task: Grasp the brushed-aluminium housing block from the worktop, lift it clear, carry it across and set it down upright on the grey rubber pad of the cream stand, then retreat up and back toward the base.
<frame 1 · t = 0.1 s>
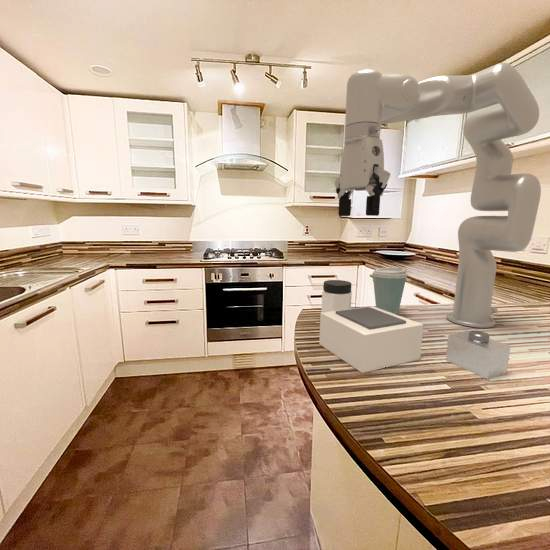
hand: (357, 215, 71), 31 cm above the countertop, fingers open, 9 cm apart
housing: (474, 366, 66), on the countertop
stand: (366, 351, 73), on the countertop
jar: (335, 322, 94), on the countertop
disposable coffee cup: (386, 314, 102), on the countertop
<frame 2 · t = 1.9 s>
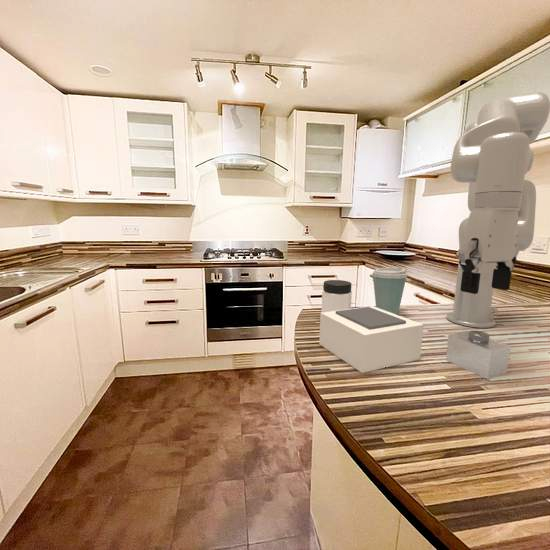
hand: (484, 290, 62), 16 cm above the countertop, fingers open, 9 cm apart
nothing on the countertop moved.
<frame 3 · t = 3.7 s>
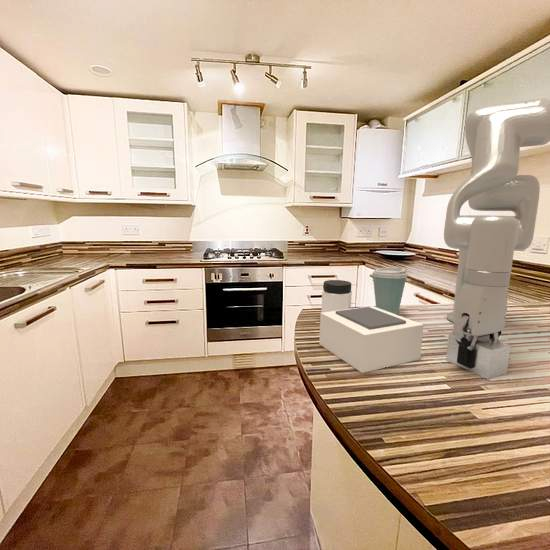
hand: (475, 361, 65), 1 cm above the countertop, fingers closed on housing, 6 cm apart
housing: (474, 366, 66), on the countertop, touching gripper
everything else where it was.
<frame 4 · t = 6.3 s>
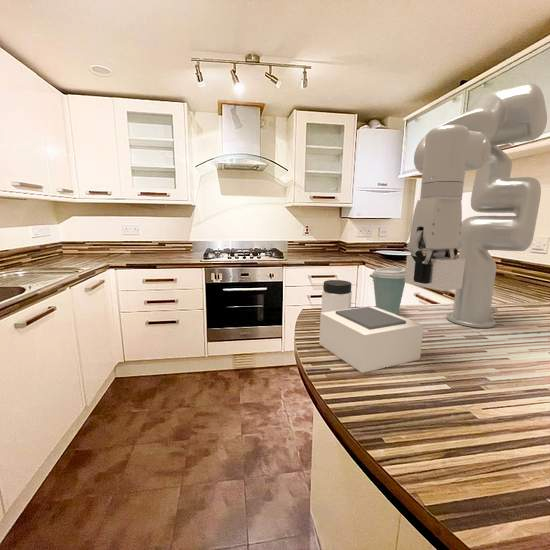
hand: (432, 280, 66), 18 cm above the countertop, fingers closed on housing, 6 cm apart
housing: (432, 285, 66), point 17 cm above the countertop, touching gripper
everything else where it was.
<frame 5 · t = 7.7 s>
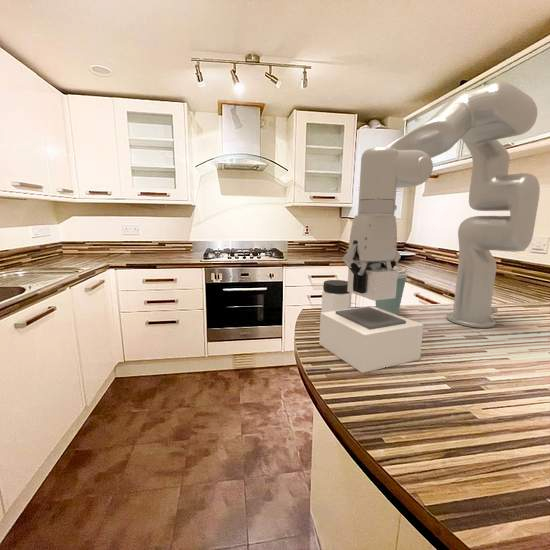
hand: (370, 290, 70), 15 cm above the countertop, fingers closed on housing, 6 cm apart
housing: (370, 294, 70), point 14 cm above the countertop, touching gripper
everything else where it was.
when the fingers open (10 cm above the countertop, at t = 8.8 s): housing stays where it is, resting on stand.
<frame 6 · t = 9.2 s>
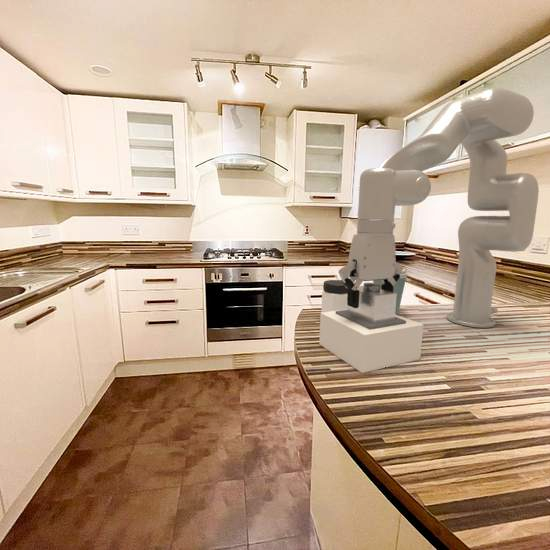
hand: (370, 304, 71), 11 cm above the countertop, fingers open, 9 cm apart
housing: (369, 315, 71), point 9 cm above the countertop, touching stand
everything else where it was.
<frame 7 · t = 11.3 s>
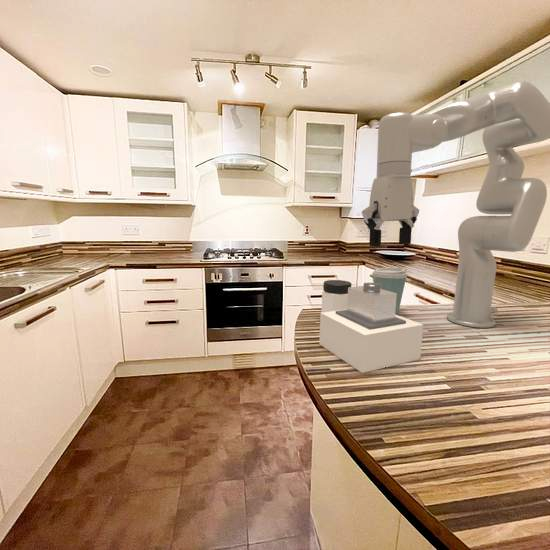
hand: (390, 245, 76), 24 cm above the countertop, fingers open, 9 cm apart
nothing on the countertop moved.
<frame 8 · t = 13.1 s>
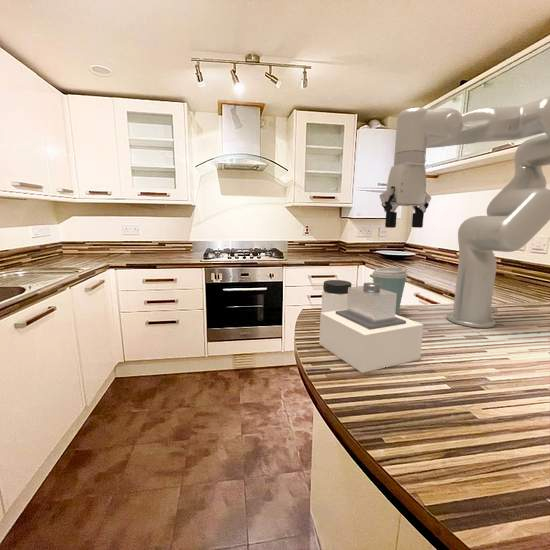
hand: (403, 227, 84), 28 cm above the countertop, fingers open, 9 cm apart
nothing on the countertop moved.
at the end: housing inside the target area on the stand (0.1 cm from its centre), point 8.6 cm above the stand's base; housing tilted 0°; the gripper is holding nothing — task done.
